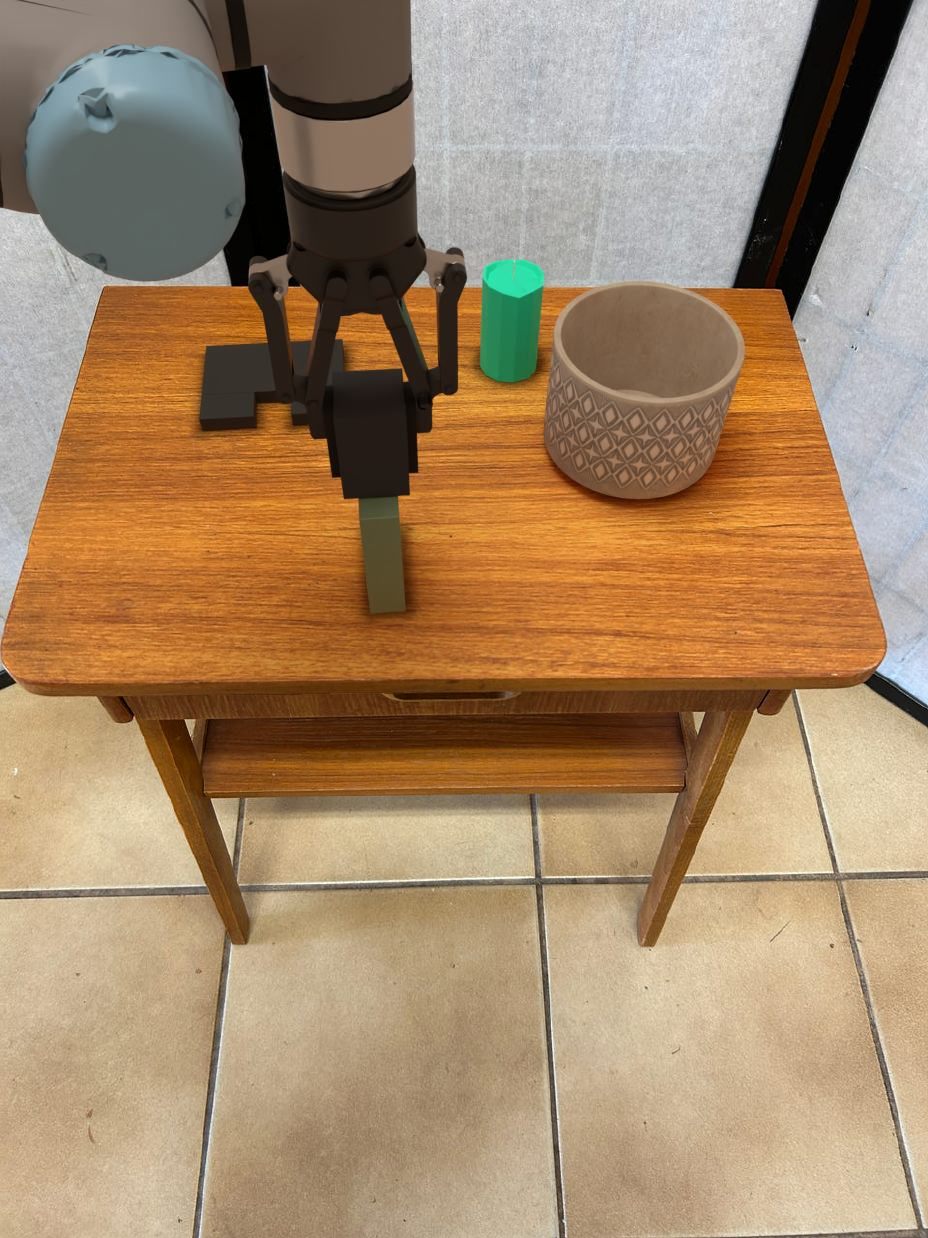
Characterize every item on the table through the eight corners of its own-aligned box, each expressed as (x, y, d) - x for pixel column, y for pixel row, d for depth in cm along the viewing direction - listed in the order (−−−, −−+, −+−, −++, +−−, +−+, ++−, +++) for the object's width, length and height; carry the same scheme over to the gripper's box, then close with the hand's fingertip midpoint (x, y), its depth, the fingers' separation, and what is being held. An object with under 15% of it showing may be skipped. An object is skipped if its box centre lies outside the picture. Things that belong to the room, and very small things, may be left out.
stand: (370, 614, 80) (359, 519, 70) (366, 533, 85) (355, 434, 76) (405, 611, 80) (399, 516, 71) (399, 531, 86) (393, 432, 76)
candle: (470, 373, 98) (472, 271, 88) (491, 339, 101) (496, 236, 92) (525, 388, 97) (533, 286, 87) (544, 353, 100) (555, 251, 90)
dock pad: (202, 430, 93) (198, 419, 92) (209, 357, 99) (206, 345, 98) (346, 422, 94) (344, 410, 92) (343, 350, 100) (342, 338, 99)
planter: (561, 517, 87) (576, 411, 76) (527, 396, 96) (537, 288, 86) (734, 499, 88) (772, 392, 78) (684, 382, 98) (712, 273, 87)
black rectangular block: (343, 499, 71) (333, 419, 65) (341, 425, 76) (331, 344, 70) (410, 495, 72) (406, 415, 65) (404, 422, 76) (400, 340, 70)
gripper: (501, 124, 56) (487, 421, 75) (189, 135, 55) (256, 434, 74) (517, 195, 52) (498, 491, 70) (179, 208, 50) (252, 506, 69)
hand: (374, 462), depth 72 cm, fingers closed on black rectangular block, 5 cm apart
